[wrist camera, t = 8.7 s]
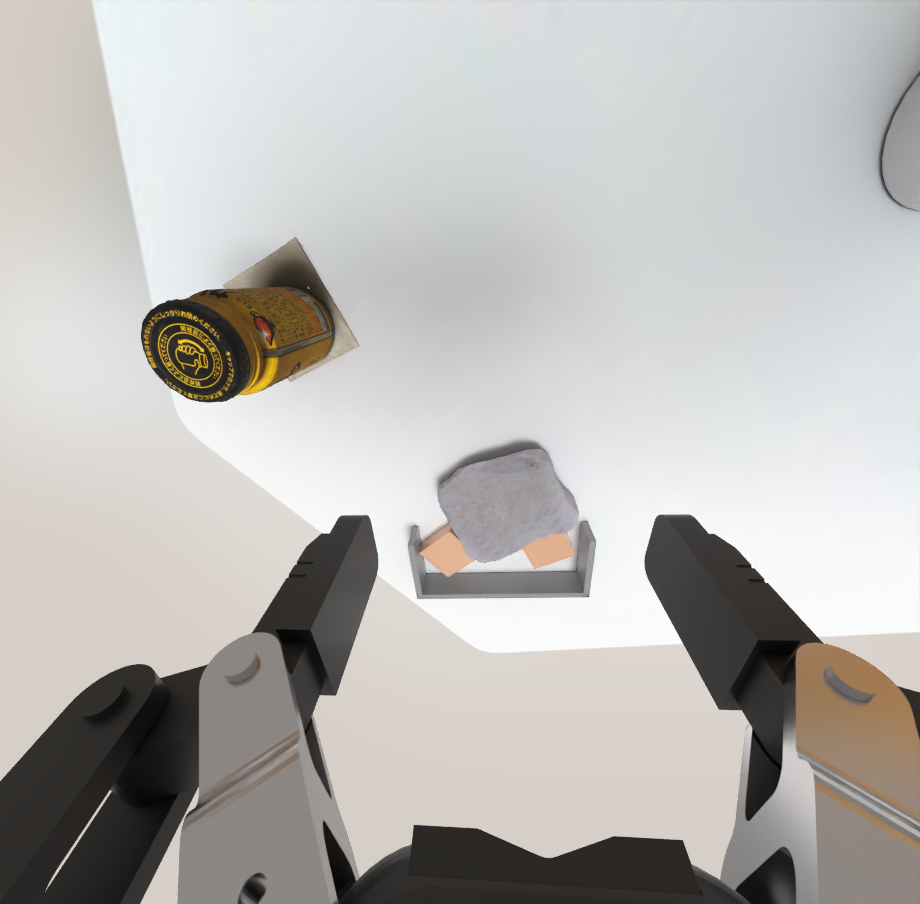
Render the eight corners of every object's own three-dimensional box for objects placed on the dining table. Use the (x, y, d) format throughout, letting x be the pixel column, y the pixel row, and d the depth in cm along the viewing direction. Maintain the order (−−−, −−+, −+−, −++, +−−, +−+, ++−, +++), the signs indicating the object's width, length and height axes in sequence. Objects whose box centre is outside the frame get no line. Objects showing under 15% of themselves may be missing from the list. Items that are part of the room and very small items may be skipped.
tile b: (515, 526, 37) (517, 539, 35) (555, 511, 36) (559, 523, 34) (532, 555, 38) (534, 568, 37) (571, 541, 37) (575, 555, 35)
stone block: (431, 474, 36) (476, 551, 38) (421, 491, 32) (473, 578, 33) (535, 422, 33) (578, 507, 35) (540, 432, 29) (590, 530, 31)
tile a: (451, 519, 37) (450, 531, 35) (479, 544, 38) (479, 557, 36) (421, 540, 38) (418, 553, 36) (449, 563, 40) (448, 577, 38)
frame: (412, 526, 37) (407, 545, 34) (587, 521, 35) (596, 541, 33) (421, 577, 40) (417, 598, 37) (581, 575, 39) (588, 597, 36)
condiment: (291, 381, 30) (188, 436, 20) (224, 285, 27) (58, 288, 16) (359, 345, 29) (288, 384, 18) (297, 237, 25) (165, 207, 15)
